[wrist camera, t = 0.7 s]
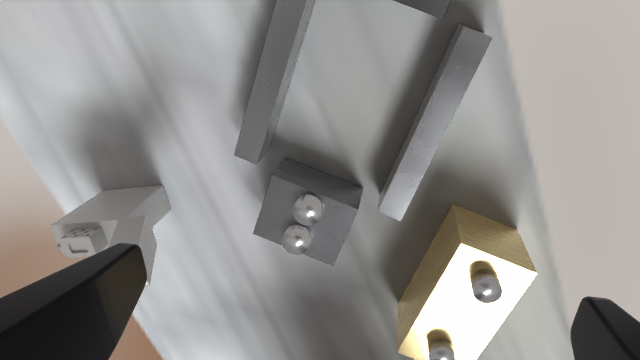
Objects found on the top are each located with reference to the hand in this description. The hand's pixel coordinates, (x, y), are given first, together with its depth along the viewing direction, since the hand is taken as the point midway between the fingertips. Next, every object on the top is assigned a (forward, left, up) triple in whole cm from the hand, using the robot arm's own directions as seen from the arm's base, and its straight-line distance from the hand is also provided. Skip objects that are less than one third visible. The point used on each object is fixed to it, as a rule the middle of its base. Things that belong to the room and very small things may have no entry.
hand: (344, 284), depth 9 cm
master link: (-6, -7, -14) cm, 17 cm away
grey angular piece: (-9, +10, -14) cm, 20 cm away
